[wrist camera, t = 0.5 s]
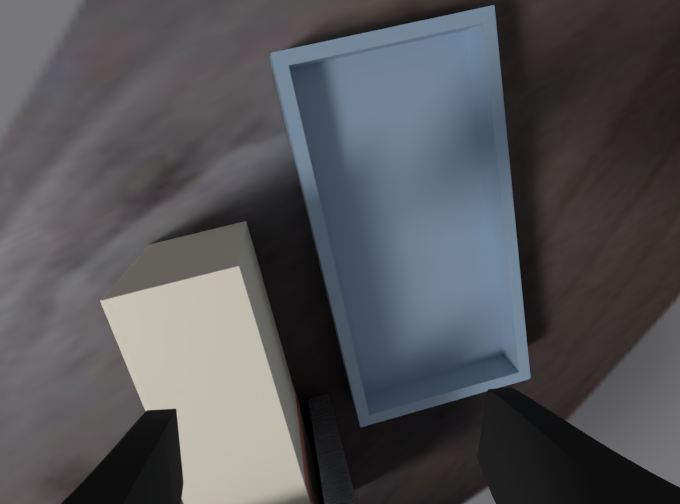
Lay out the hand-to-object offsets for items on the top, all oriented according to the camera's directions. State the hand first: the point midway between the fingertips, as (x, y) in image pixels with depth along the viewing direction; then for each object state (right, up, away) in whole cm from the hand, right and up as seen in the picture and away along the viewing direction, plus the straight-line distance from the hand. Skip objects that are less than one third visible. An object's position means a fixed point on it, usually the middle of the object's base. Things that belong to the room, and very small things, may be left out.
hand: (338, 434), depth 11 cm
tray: (+3, +5, +10) cm, 11 cm away
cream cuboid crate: (-4, -1, +10) cm, 11 cm away
